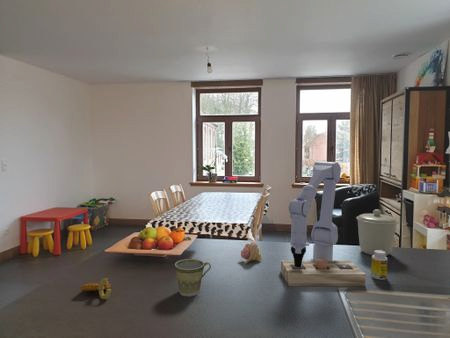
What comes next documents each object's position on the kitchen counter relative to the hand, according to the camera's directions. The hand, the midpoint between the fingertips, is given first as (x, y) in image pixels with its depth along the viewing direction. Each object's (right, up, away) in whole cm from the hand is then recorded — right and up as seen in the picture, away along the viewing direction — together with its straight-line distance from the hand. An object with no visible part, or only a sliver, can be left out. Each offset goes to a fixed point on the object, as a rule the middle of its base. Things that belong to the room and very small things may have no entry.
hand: (297, 266), depth 125 cm
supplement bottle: (+32, -5, +2) cm, 32 cm away
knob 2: (+18, -4, +1) cm, 18 cm away
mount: (+9, -5, +1) cm, 10 cm away
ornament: (-70, -5, -14) cm, 72 cm away
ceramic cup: (-39, -5, -12) cm, 41 cm away
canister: (+44, -3, +32) cm, 54 cm away
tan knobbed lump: (-17, -4, +18) cm, 25 cm away
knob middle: (+9, -1, 0) cm, 9 cm away
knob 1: (0, -3, 0) cm, 3 cm away
